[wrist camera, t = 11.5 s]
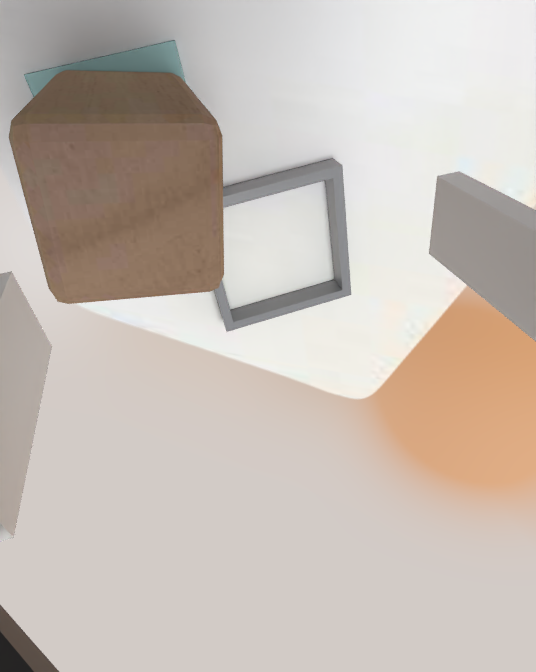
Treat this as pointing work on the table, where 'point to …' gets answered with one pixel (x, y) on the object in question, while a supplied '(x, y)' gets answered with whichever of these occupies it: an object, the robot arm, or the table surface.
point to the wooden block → (122, 185)
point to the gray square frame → (338, 233)
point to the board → (118, 64)
